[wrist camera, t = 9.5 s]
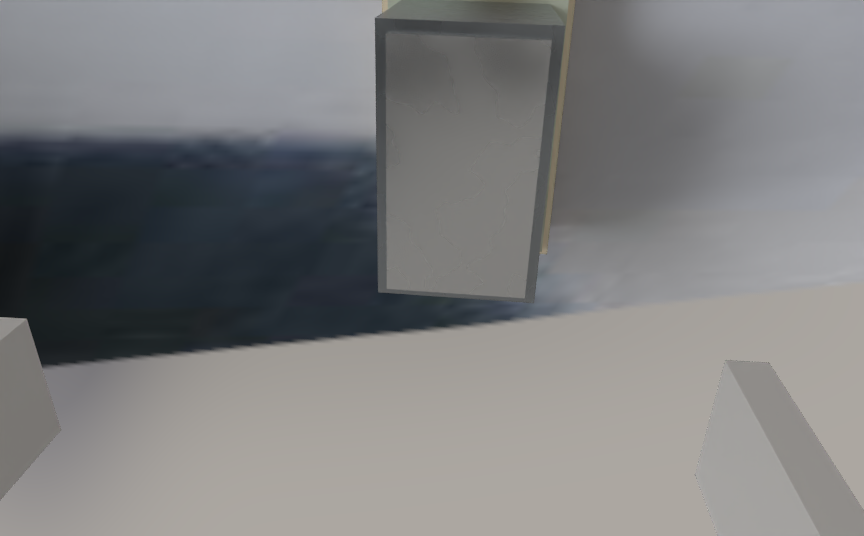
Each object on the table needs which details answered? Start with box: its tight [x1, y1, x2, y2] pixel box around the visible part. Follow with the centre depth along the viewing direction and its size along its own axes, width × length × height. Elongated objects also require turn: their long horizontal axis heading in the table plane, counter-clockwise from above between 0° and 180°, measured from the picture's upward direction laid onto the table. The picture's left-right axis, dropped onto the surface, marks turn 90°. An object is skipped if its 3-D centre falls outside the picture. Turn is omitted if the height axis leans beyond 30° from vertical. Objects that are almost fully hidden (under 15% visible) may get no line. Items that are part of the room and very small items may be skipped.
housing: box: [375, 0, 565, 303], centre depth 26 cm, size 10×6×7 cm, turn 178°
